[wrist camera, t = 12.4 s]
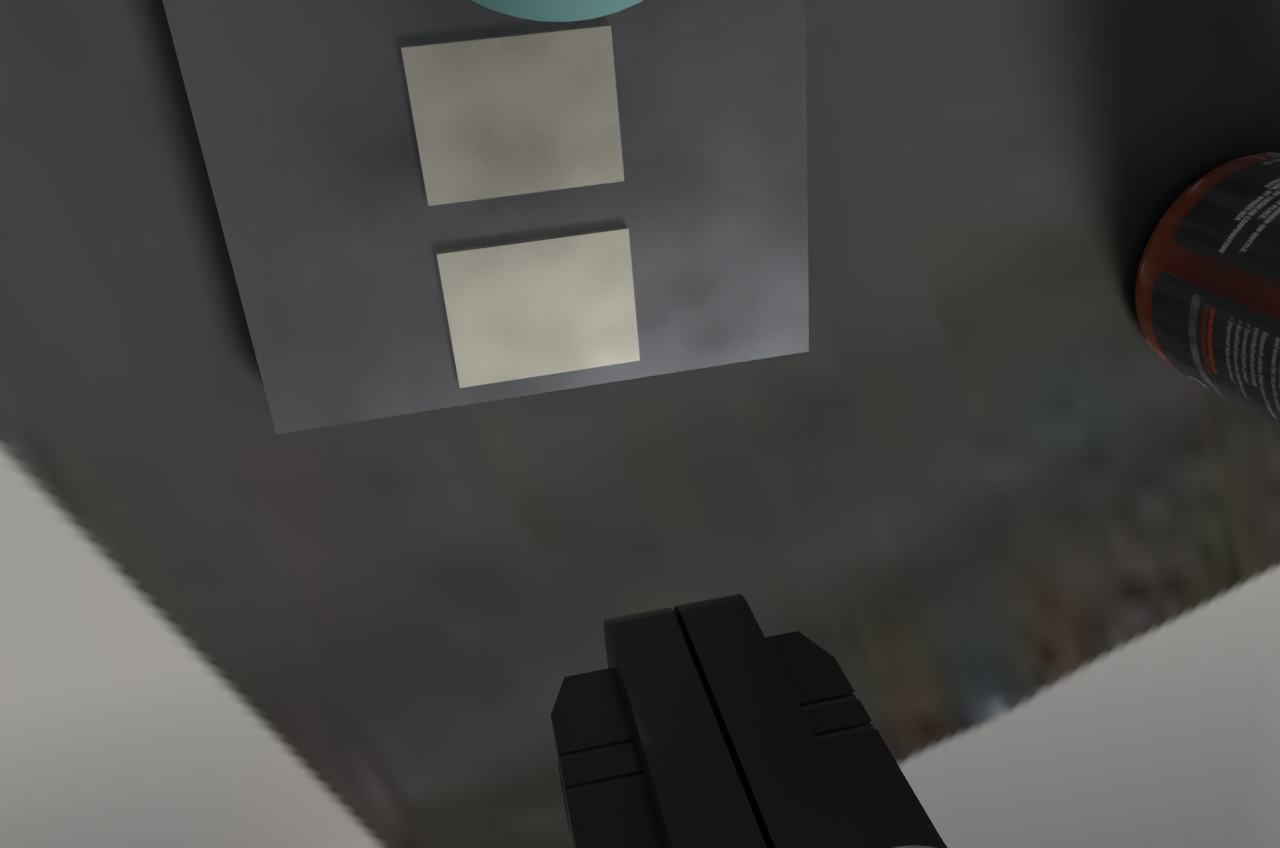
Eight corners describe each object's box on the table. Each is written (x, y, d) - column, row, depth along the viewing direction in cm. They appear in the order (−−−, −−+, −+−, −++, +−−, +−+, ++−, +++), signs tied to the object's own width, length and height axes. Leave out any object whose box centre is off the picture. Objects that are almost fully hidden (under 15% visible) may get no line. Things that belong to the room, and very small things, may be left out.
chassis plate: (776, -250, 20) (1066, -391, 11) (787, 329, 26) (991, 541, 17) (126, -205, 19) (-129, -328, 10) (283, 405, 24) (211, 689, 15)
